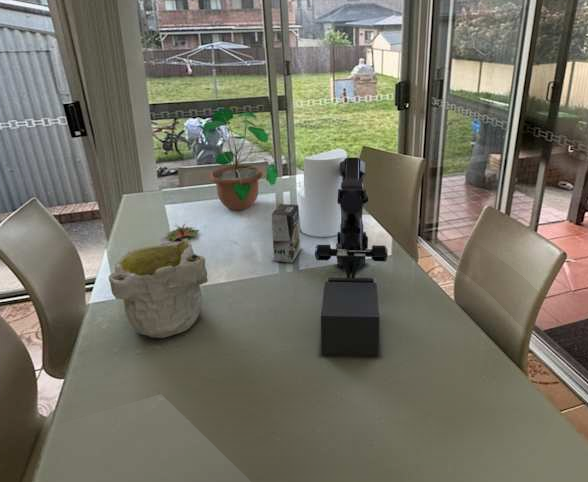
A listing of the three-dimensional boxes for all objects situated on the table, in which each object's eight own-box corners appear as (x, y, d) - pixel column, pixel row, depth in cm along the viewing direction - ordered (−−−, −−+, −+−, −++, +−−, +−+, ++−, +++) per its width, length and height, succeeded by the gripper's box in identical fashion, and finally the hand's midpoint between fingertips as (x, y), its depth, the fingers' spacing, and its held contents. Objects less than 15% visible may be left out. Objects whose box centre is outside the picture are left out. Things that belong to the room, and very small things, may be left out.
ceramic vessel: (86, 282, 112) (140, 201, 111) (173, 314, 125) (221, 241, 124) (78, 333, 93) (143, 235, 92) (181, 364, 105) (239, 278, 104)
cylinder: (356, 225, 162) (357, 152, 152) (323, 241, 151) (321, 163, 140) (323, 213, 173) (322, 144, 163) (290, 227, 162) (286, 153, 152)
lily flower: (186, 245, 149) (184, 233, 147) (157, 240, 152) (155, 228, 151) (206, 231, 159) (205, 219, 158) (179, 226, 163) (177, 215, 161)
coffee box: (293, 263, 137) (290, 215, 131) (273, 261, 138) (270, 214, 132) (301, 249, 145) (299, 204, 140) (282, 247, 147) (279, 203, 141)
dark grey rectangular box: (325, 317, 111) (324, 281, 107) (375, 318, 111) (376, 282, 107) (321, 355, 99) (320, 315, 95) (377, 356, 98) (379, 317, 94)
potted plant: (275, 218, 169) (269, 115, 155) (200, 218, 170) (187, 116, 156) (284, 190, 198) (280, 102, 184) (221, 190, 199) (211, 102, 184)
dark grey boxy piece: (329, 297, 118) (329, 269, 115) (372, 298, 117) (372, 270, 114) (325, 338, 103) (324, 306, 99) (374, 339, 102) (375, 307, 99)
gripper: (384, 238, 125) (385, 292, 119) (319, 237, 126) (316, 291, 120) (387, 224, 115) (388, 283, 109) (316, 223, 116) (313, 282, 110)
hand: (350, 285), depth 112 cm, fingers closed, pressing on dark grey boxy piece
